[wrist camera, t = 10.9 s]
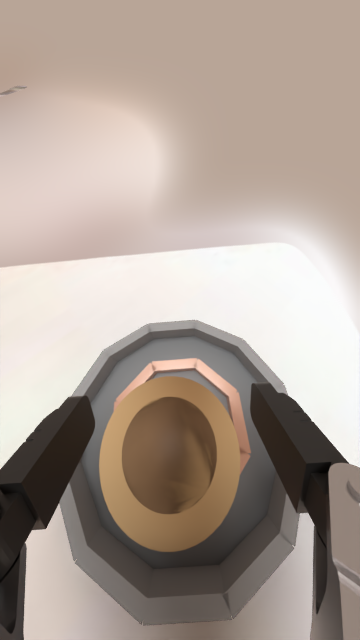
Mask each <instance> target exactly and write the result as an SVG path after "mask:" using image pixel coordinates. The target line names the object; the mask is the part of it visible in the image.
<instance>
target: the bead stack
mask: <svg viewBox="0 0 360 640" xmlns="http://www.w3.org/2000/svg"><path fill="white" fill-rule="evenodd" d="M99 473H100V482H101V488H102V492H103V496H104V499H105V502H106V504H107V507H108V509H109V511H110V513H111V515H112V517H113V518H114V520H115V522H116V523H117V524H118V526H119V527H120V528H121V529H122V531H123V532H124V533H126V534H127V535H128V536H129V537H130V538H131V539H132V540H134V541H135V542H137V543H138V544H140V545H142V546H144V547H146V548H149V549H152V550H156V551H160V552H176V551H182V550H185V549H188V548H191V547H193V546H195V545H197V544H199V543H200V542H202V541H204V540H205V539H206V538H207V537H209V536H210V535H211V534H212V533H213V532H214V531H215V530H216V529H217V528H218V527H219V525H220V524H221V523H222V521H223V520H224V518H225V517H226V515H227V514H228V512H229V509H230V507H231V505H232V503H233V501H234V497H235V494H236V491H237V487H238V482H239V476H240V449H239V442H238V438H237V434H236V431H235V428H234V425H233V422H232V420H231V418H230V416H229V414H228V412H227V411H226V409H225V407H224V406H223V404H222V403H221V402H220V401H219V399H218V398H217V397H216V396H215V395H214V394H213V393H212V392H211V391H209V390H208V389H207V388H206V387H204V386H203V385H201V384H199V383H197V382H195V381H193V380H190V379H187V378H183V377H177V376H165V377H159V378H155V379H152V380H149V381H147V382H145V383H143V384H141V385H139V386H138V387H136V388H135V389H134V390H132V391H131V392H130V393H129V394H128V395H127V396H126V397H125V398H124V399H123V400H122V401H121V402H120V404H119V405H118V406H117V408H116V409H115V411H114V412H113V414H112V416H111V418H110V420H109V422H108V424H107V427H106V429H105V432H104V436H103V439H102V443H101V449H100V459H99Z"/></svg>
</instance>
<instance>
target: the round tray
mask: <svg viewBox="0 0 360 640" xmlns="http://www.w3.org/2000/svg"><path fill="white" fill-rule="evenodd" d="M165 376H177V377H183V378H187V379H190V380H193V381H195V382H197V383H199V384H201V385H203V386H204V387H206V388H207V389H208V390H209V391H211V392H212V393H213V394H214V395H215V396H216V397H217V398H218V399H219V401H220V402H221V403H222V404H223V406H224V407H225V409H226V411H227V412H228V414H229V416H230V418H231V420H232V422H233V425H234V428H235V431H236V434H237V438H238V442H239V449H240V476H239V482H238V487H237V491H236V494H235V497H234V501H233V503H232V505H231V507H230V509H229V512H228V514H227V515H226V517H225V518H224V520H223V521H222V523H221V524H220V525H219V527H218V528H217V529H216V530H215V531H214V532H213V533H212V534H211V535H210V536H209V537H207V538H206V539H205V540H204V541H202V542H200V543H199V544H197V545H195V546H193V547H191V548H188V549H185V550H182V551H176V552H160V551H156V550H152V549H149V548H146V547H144V546H142V545H140V544H138V543H137V542H135V541H134V540H132V539H131V538H130V537H129V536H128V535H127V534H126V533H124V532H123V531H122V529H121V528H120V527H119V526H118V524H117V523H116V522H115V520H114V518H113V517H112V515H111V513H110V511H109V509H108V507H107V504H106V502H105V499H104V496H103V492H102V488H101V482H100V473H99V459H100V449H101V443H102V439H103V436H104V432H105V429H106V427H107V424H108V422H109V420H110V418H111V416H112V414H113V412H114V411H115V409H116V408H117V406H118V405H119V404H120V402H121V401H122V400H123V399H124V398H125V397H126V396H127V395H128V394H129V393H130V392H131V391H132V390H134V389H135V388H136V387H138V386H139V385H141V384H143V383H145V382H147V381H149V380H152V379H155V378H159V377H165ZM260 382H270V383H271V384H272V386H273V387H274V388H275V389H276V391H277V392H278V393H285V394H286V395H288V394H287V391H286V388H285V385H283V384H284V383H283V382H282V381H281V380H280V379H279V378H278V377H277V376H276V374H275V373H274V372H273V371H272V370H271V369H270V368H269V367H268V366H267V365H266V363H265V362H264V361H263V360H262V359H261V358H260V357H259V356H258V355H257V354H256V352H255V351H254V350H253V349H252V348H251V347H250V346H249V345H248V344H247V343H246V341H245V340H243V339H242V338H239V337H237V336H235V335H232V334H230V333H227V332H225V331H222V330H220V329H217V328H215V327H212V326H210V325H207V324H205V323H203V322H200V321H198V320H187V321H175V322H162V323H150V324H146V325H145V326H143V327H141V328H140V329H138V330H136V331H135V332H133V333H131V334H130V335H128V336H126V337H125V338H123V339H121V340H120V341H118V342H116V343H114V344H113V345H111V346H109V347H108V348H106V349H104V351H102V353H101V354H100V356H99V357H98V358H97V360H96V361H95V363H94V364H93V366H92V367H91V368H90V370H89V371H88V373H87V374H86V376H85V377H84V378H83V380H82V381H81V383H80V384H79V386H78V387H77V389H76V390H75V391H74V393H73V394H72V396H84V395H86V396H88V398H89V401H90V404H91V408H92V411H93V415H94V418H95V429H94V432H93V435H92V437H91V439H90V441H89V443H88V445H87V447H86V449H85V451H84V453H83V455H82V457H81V459H80V461H79V463H78V465H77V467H76V469H75V471H74V473H73V475H72V477H71V479H70V481H69V483H68V485H67V488H66V490H65V492H64V494H63V496H62V498H61V500H60V502H59V503H60V507H61V511H62V515H63V519H64V523H65V527H66V531H67V535H68V539H69V543H70V547H71V551H72V555H73V559H74V561H75V560H76V559H77V560H76V562H75V564H77V565H78V566H79V567H80V568H81V569H82V570H83V571H84V572H85V573H86V574H87V575H88V576H89V577H91V578H92V579H93V580H94V581H95V582H96V583H97V584H98V585H99V586H100V587H101V588H102V589H103V590H105V591H106V592H107V593H108V594H109V595H110V596H111V597H112V598H113V599H114V600H115V601H116V602H117V603H119V604H120V605H121V606H122V607H123V608H124V609H125V610H126V611H127V612H128V613H129V614H130V615H131V616H133V617H134V618H135V619H136V620H137V621H138V622H139V623H140V624H141V625H142V622H143V625H158V624H174V623H190V622H206V621H222V620H231V616H232V618H233V619H234V617H235V616H236V615H237V614H238V613H239V612H240V611H241V609H242V608H243V607H244V606H245V605H246V604H247V602H248V601H249V600H250V599H251V598H252V597H253V595H254V594H255V593H256V592H257V591H258V590H259V589H260V587H261V586H262V585H263V584H264V583H265V582H266V580H267V579H268V578H269V577H270V576H271V575H272V573H273V572H274V571H275V570H276V569H277V568H278V567H279V565H280V564H281V563H282V562H283V561H284V560H285V558H286V557H287V556H288V555H289V554H290V553H291V551H292V550H293V549H294V547H293V546H295V543H296V535H297V528H298V521H299V514H300V513H296V511H295V509H294V507H293V505H292V503H291V501H290V499H289V497H288V494H287V492H286V490H285V488H284V486H283V484H282V482H281V480H280V478H279V476H278V474H277V471H276V469H275V467H274V465H273V463H272V461H271V459H270V457H269V455H268V453H267V450H266V448H265V446H264V444H263V442H262V440H261V438H260V436H259V434H258V432H257V429H256V427H255V425H254V423H253V421H252V417H251V413H250V400H251V385H252V383H260ZM292 545H293V546H292Z"/></svg>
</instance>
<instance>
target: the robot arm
mask: <svg viewBox="0 0 360 640" xmlns="http://www.w3.org/2000/svg"><path fill="white" fill-rule="evenodd" d="M250 413H251V417H252V421H253V423H254V425H255V427H256V429H257V432H258V434H259V436H260V438H261V440H262V442H263V444H264V446H265V448H266V450H267V453H268V455H269V457H270V459H271V461H272V463H273V465H274V467H275V469H276V471H277V474H278V476H279V478H280V480H281V482H282V484H283V486H284V488H285V490H286V492H287V494H288V497H289V499H290V501H291V503H292V505H293V507H294V509H295V511H296V513H309V515H310V517H311V519H312V521H313V523H314V525H315V526H314V551H313V606H312V625H311V633H310V640H360V468H359V467H357V466H354V465H351V464H349V463H348V462H347V461H346V460H345V458H344V457H343V456H342V455H341V454H340V453H339V451H338V450H337V449H336V448H335V447H334V446H333V444H332V443H331V442H330V441H329V440H328V439H327V437H326V436H325V435H324V434H323V433H322V432H321V430H320V429H319V428H318V427H317V426H316V425H315V423H314V422H312V421H311V419H310V418H309V416H308V415H307V414H306V413H304V411H303V409H302V408H301V407H300V406H299V405H298V404H297V402H296V401H295V400H293V399H292V398H291V397H289V396H288V395H286V394H285V393H278V392H277V391H276V389H275V388H274V387H273V386H272V384H271V383H270V382H260V383H252V385H251V400H250ZM94 429H95V418H94V415H93V411H92V408H91V404H90V401H89V398H88V396H86V395H84V396H71V397H68V398H67V399H66V400H65V402H64V403H63V404H62V405H61V406H60V408H59V409H56V410H55V411H53V412H52V413H51V414H49V415H48V416H47V417H46V418H44V419H43V420H42V422H41V423H40V424H39V425H38V426H37V427H36V429H35V430H34V432H32V433H31V434H30V436H29V437H28V438H27V439H26V442H24V443H23V444H22V445H21V446H20V447H19V448H18V450H17V451H16V452H15V453H14V454H13V455H12V457H11V458H10V459H9V460H8V461H7V462H6V464H5V465H4V466H3V467H2V468H1V469H0V640H24V635H23V622H24V598H25V574H26V544H25V541H26V540H27V538H28V536H29V534H30V532H31V530H39V529H46V528H47V526H48V524H49V522H50V520H51V518H52V516H53V514H54V512H55V510H56V508H57V506H58V504H59V502H60V500H61V498H62V496H63V494H64V492H65V490H66V488H67V485H68V483H69V481H70V479H71V477H72V475H73V473H74V471H75V469H76V467H77V465H78V463H79V461H80V459H81V457H82V455H83V453H84V451H85V449H86V447H87V445H88V443H89V441H90V439H91V437H92V435H93V432H94Z"/></svg>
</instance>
